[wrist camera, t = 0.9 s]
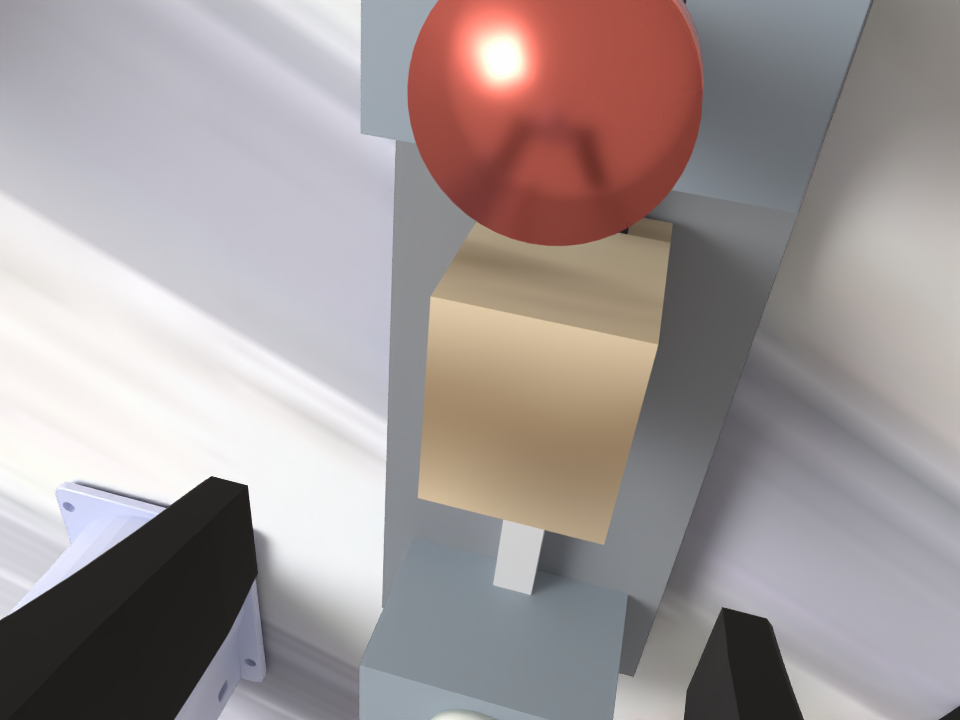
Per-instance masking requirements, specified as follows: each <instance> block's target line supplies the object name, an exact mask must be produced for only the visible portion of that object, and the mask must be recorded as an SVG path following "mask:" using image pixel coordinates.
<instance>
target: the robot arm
mask: <svg viewBox="0 0 960 720" xmlns="http://www.w3.org/2000/svg"><path fill="white" fill-rule="evenodd" d="M55 494H56V498H57V501H58V504H59V507H60V510H61V514H62V517H63V520H64V523H65V526H66V530H67V533H68V536H69V539H70V542H71V545H70V546H69V547H68V548H67V549H66V551H65V552H64V553H63V554H62V555H61V556H60V557H59V558H58V559H57V561H56V562H55V563H54V564H53V565H52V566H51V567H50V568H49V569H48V571H47V572H46V573H45V574H44V575H43V576H42V577H41V578H40V579H39V581H38V582H37V583H36V584H35V585H34V586H33V587H32V588H31V589H30V591H29V592H28V593H27V594H26V595H25V596H24V597H23V598H22V599H21V601H20V602H19V603H18V604H17V605H16V606H15V607H14V608H13V609H12V611H11V612H10V613H9V614H8V615H7V616H6V617H4V618H3V619H1V620H0V720H217V719H218V718H219V716H220V714H221V712H222V711H223V709H224V707H225V705H226V703H227V702H228V700H229V698H230V696H231V694H232V693H233V691H234V689H235V687H236V686H237V684H238V682H239V680H240V678H241V679H244V680H248V681H251V682H255V683H258V682H261V681H263V679H264V677H265V675H266V664H265V655H264V646H263V638H262V629H261V620H260V612H259V603H258V594H257V586H256V576H257V574H258V570H257V561H256V553H255V544H254V535H253V527H252V518H251V510H250V501H249V492H248V485H244V484H240V483H236V482H232V481H228V480H224V479H220V478H217V477H213V476H211V477H210V478H208V479H206V480H205V481H204V482H202V483H201V484H199V485H198V486H196V487H195V488H194V489H192V490H191V491H189V492H188V493H187V494H185V495H184V496H183V497H181V498H180V499H179V500H177V501H176V502H174V503H173V504H172V505H170V506H169V507H168V508H164V507H160V506H156V505H153V504H149V503H145V502H141V501H138V500H134V499H130V498H127V497H123V496H119V495H115V494H112V493H108V492H104V491H100V490H97V489H93V488H89V487H85V486H82V485H78V484H74V483H70V482H64V483H62V484H61V485H60V486H59V487H58V488H57V489H56V490H55ZM684 720H804V719H803V716H802V713H801V711H800V708H799V705H798V703H797V700H796V697H795V694H794V692H793V689H792V686H791V683H790V680H789V677H788V674H787V671H786V668H785V665H784V662H783V659H782V656H781V653H780V650H779V647H778V644H777V641H776V637H775V634H774V630H773V627H772V625H771V624H770V622H769V621H768V620H767V619H766V618H762V617H758V616H755V615H751V614H747V613H743V612H739V611H735V610H731V609H727V608H723V607H722V609H721V611H720V614H719V616H718V618H717V621H716V623H715V626H714V628H713V630H712V633H711V635H710V637H709V640H708V642H707V644H706V647H705V649H704V651H703V654H702V656H701V658H700V661H699V663H698V666H697V668H696V670H695V673H694V675H693V677H692V680H691V682H690V684H689V687H688V689H687V694H686V704H685V714H684Z"/></svg>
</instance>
